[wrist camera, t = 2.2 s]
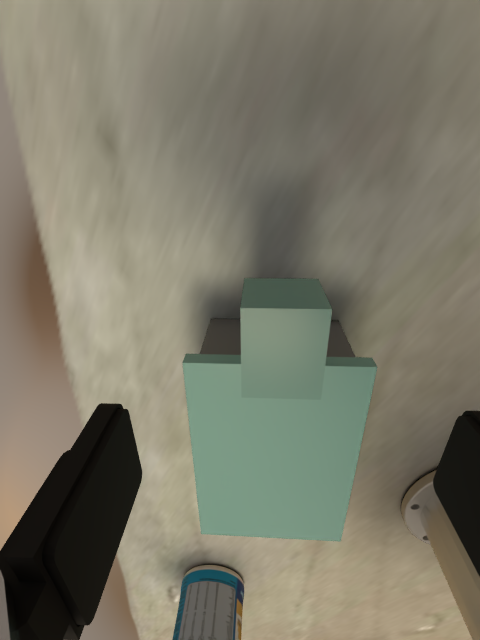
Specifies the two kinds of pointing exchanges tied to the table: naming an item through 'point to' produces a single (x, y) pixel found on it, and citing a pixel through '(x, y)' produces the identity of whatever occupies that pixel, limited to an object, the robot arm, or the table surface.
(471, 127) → the table surface
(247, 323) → the lid
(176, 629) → the beverage bottle
